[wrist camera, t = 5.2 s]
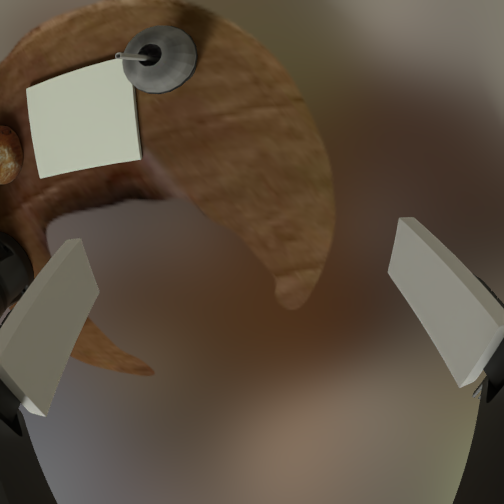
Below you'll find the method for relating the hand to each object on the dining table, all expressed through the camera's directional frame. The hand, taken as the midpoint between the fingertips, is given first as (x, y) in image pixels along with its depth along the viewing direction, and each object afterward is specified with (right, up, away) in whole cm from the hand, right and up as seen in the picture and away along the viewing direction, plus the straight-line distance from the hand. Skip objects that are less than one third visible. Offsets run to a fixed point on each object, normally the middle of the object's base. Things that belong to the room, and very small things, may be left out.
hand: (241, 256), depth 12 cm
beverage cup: (-9, +24, +21) cm, 34 cm away
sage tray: (-24, +19, +23) cm, 38 cm away
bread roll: (-41, +17, +23) cm, 50 cm away
